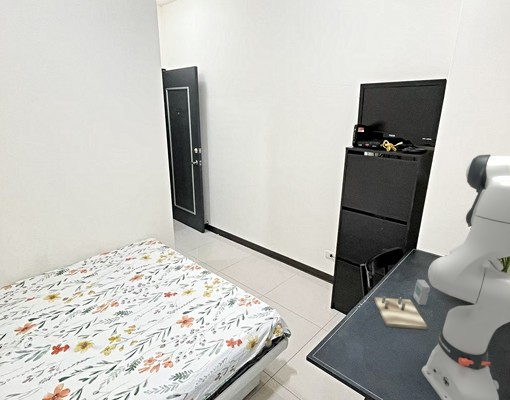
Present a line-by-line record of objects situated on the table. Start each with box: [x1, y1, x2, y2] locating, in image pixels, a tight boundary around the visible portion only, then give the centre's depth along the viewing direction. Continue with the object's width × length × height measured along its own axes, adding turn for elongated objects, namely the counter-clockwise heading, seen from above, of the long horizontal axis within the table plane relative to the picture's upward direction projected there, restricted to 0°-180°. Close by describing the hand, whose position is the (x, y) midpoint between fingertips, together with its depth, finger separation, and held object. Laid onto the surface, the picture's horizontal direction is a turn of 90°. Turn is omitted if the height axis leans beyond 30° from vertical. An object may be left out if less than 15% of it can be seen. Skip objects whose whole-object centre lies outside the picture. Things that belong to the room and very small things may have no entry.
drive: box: [412, 279, 431, 306], centre depth 126 cm, size 6×3×9 cm, turn 174°
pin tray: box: [373, 295, 428, 330], centre depth 119 cm, size 16×15×4 cm
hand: (453, 272), depth 122 cm, fingers open, 8 cm apart
